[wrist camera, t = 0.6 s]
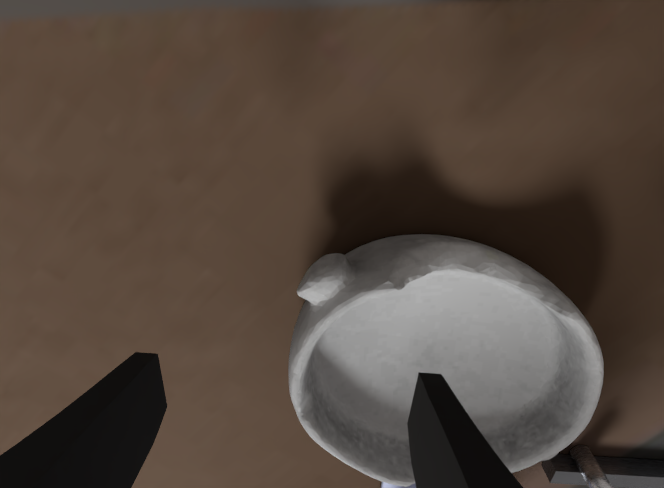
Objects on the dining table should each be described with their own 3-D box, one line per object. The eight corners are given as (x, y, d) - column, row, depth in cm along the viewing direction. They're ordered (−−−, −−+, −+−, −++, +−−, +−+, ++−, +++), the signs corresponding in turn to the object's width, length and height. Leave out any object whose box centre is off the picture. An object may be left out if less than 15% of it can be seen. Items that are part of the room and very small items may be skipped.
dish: (275, 232, 19) (253, 288, 14) (570, 197, 18) (647, 247, 13) (320, 430, 25) (315, 512, 21) (539, 415, 24) (584, 498, 19)
